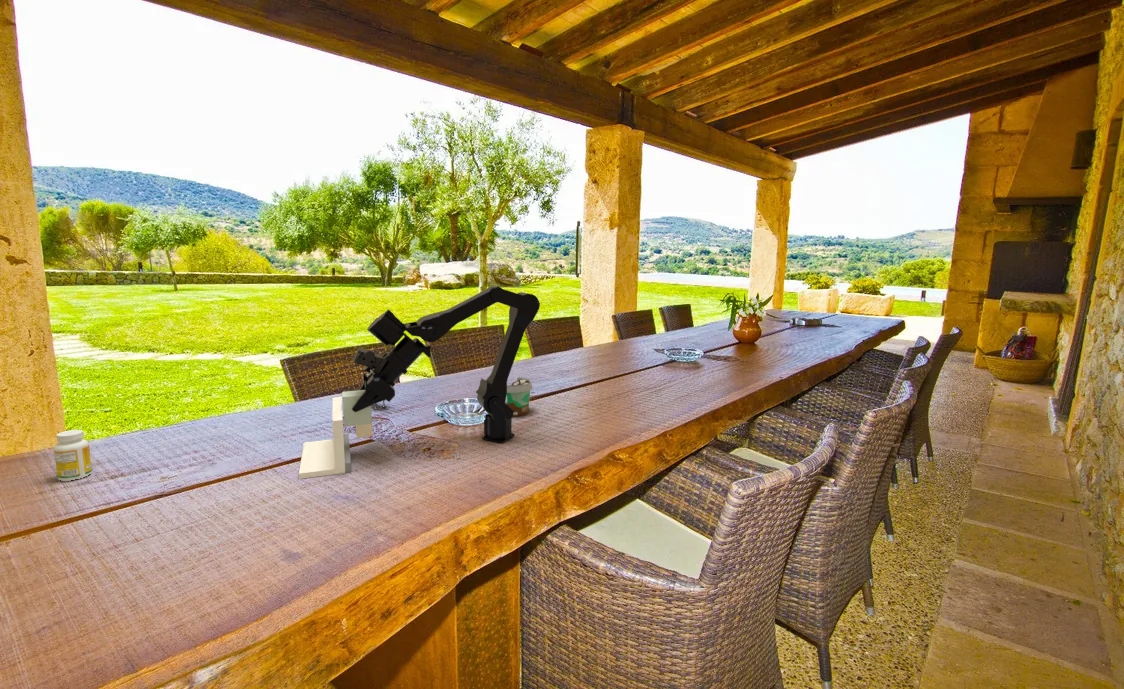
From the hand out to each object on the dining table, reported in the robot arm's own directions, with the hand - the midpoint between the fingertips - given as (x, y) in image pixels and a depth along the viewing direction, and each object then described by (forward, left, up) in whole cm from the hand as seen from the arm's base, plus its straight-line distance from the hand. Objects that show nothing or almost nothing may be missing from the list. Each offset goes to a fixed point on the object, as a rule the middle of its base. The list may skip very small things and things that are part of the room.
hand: (353, 407), depth 122 cm
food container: (-19, -48, -12) cm, 53 cm away
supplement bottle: (+42, +35, -12) cm, 56 cm away
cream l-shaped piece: (+4, +5, -12) cm, 13 cm away
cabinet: (-1, -1, -7) cm, 7 cm away
